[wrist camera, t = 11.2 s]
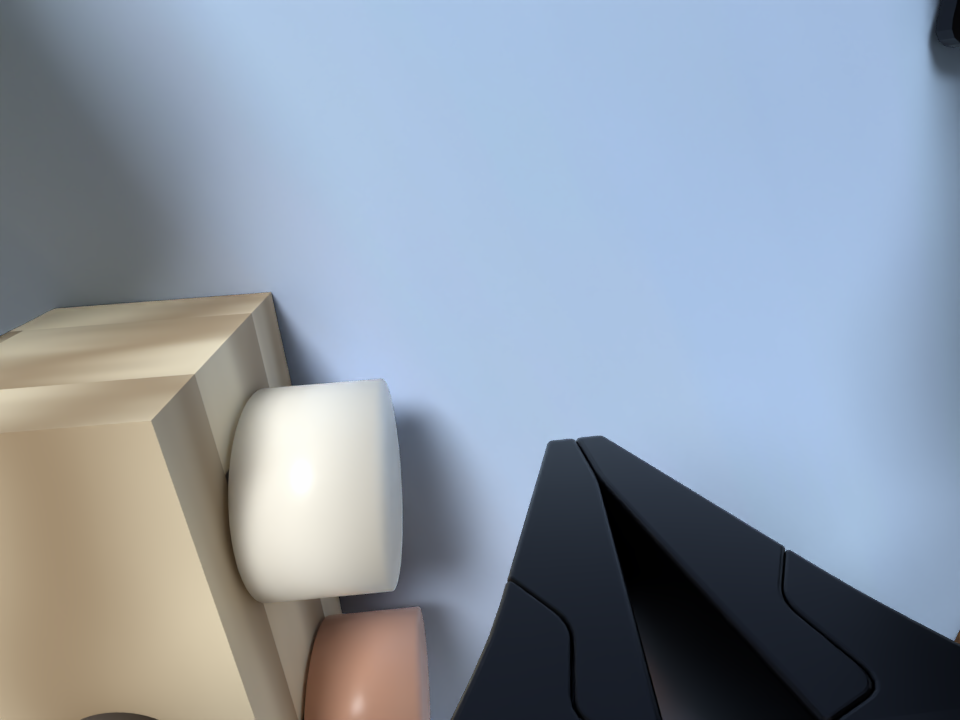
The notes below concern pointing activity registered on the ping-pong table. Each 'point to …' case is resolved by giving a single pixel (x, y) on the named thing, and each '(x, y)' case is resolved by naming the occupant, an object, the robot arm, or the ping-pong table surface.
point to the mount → (138, 518)
